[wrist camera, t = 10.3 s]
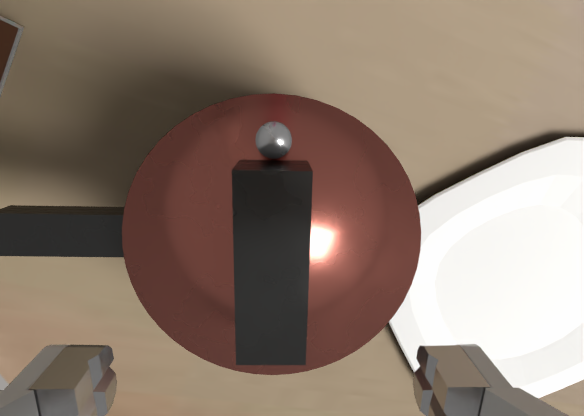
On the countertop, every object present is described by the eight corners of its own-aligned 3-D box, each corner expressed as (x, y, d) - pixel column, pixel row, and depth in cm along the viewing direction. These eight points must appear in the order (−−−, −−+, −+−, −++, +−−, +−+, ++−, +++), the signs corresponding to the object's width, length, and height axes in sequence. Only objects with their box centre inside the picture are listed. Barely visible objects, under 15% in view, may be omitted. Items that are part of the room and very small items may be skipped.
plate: (342, 231, 30) (345, 238, 28) (604, 103, 28) (625, 102, 26) (439, 423, 35) (447, 439, 34) (665, 328, 33) (685, 339, 31)
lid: (117, 90, 18) (68, 86, 14) (428, 97, 18) (470, 95, 14) (143, 360, 22) (111, 419, 18) (398, 360, 22) (425, 417, 18)
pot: (65, 100, 26) (-42, 97, 18) (374, 107, 27) (418, 108, 18) (89, 281, 30) (11, 352, 21) (360, 283, 31) (392, 354, 22)
